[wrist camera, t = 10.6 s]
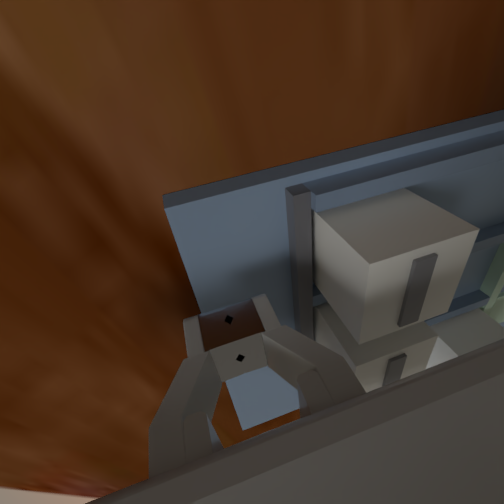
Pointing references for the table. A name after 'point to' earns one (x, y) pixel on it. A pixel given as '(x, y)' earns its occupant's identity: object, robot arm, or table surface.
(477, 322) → the tab
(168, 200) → the switch bank
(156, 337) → the table surface
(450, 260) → the tab
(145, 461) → the table surface
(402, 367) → the white slotted cube
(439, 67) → the table surface
